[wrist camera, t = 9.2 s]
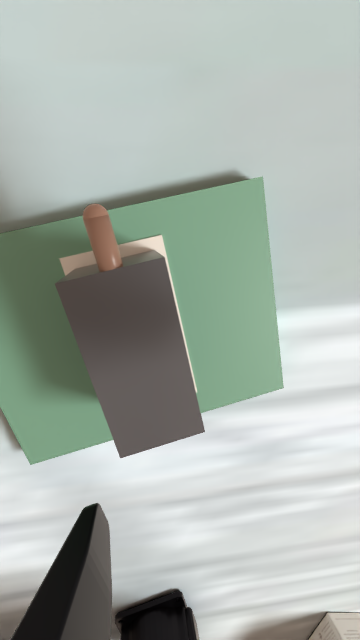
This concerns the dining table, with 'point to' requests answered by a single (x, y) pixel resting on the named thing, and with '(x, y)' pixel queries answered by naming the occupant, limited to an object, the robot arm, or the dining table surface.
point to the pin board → (190, 298)
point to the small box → (338, 627)
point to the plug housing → (131, 341)
